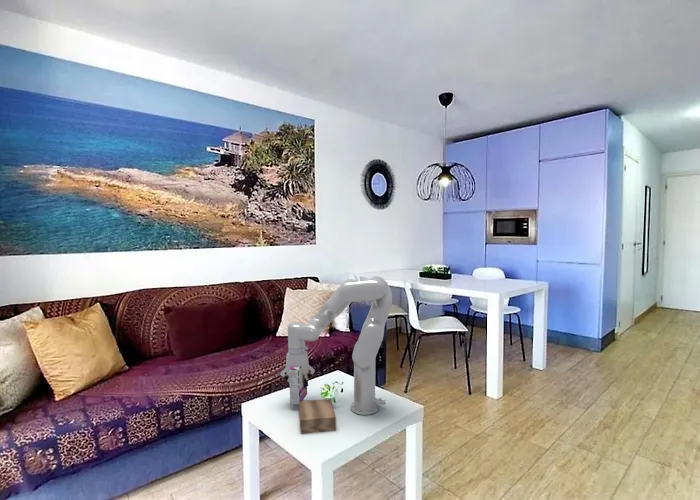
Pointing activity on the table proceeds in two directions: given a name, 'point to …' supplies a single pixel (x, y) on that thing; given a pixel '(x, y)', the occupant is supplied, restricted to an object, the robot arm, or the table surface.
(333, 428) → the walnut block
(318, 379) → the table surface
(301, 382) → the candy bar box
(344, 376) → the table surface
